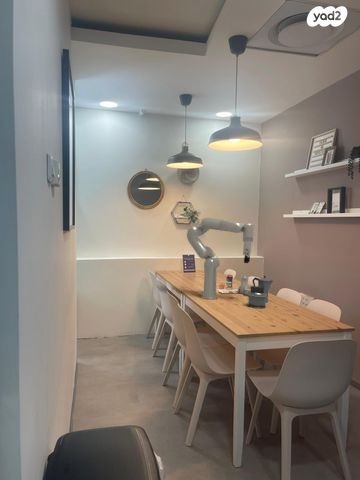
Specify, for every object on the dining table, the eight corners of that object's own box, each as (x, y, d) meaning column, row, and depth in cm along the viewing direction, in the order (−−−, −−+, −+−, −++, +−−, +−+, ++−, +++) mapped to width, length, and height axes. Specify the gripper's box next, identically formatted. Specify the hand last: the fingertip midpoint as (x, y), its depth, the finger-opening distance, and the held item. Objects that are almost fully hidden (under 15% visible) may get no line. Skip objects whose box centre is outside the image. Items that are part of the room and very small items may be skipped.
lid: (247, 294, 244) (247, 287, 244) (248, 291, 257) (249, 284, 256) (266, 296, 241) (266, 289, 240) (266, 293, 253) (267, 286, 253)
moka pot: (272, 303, 260) (273, 277, 259) (251, 301, 263) (252, 275, 262) (271, 300, 269) (272, 275, 268) (251, 299, 272) (252, 274, 271)
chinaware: (254, 299, 280) (257, 279, 278) (234, 295, 285) (237, 275, 284) (258, 293, 306) (261, 275, 305) (240, 289, 311) (242, 271, 310)
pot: (247, 307, 245) (247, 294, 244) (248, 303, 257) (249, 291, 256) (265, 309, 241) (265, 296, 241) (266, 305, 253) (266, 293, 253)
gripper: (244, 239, 269) (243, 260, 270) (241, 239, 252) (240, 263, 253) (253, 239, 267) (252, 261, 268) (252, 240, 250) (250, 263, 251)
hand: (246, 262), depth 260 cm, fingers open, 9 cm apart
